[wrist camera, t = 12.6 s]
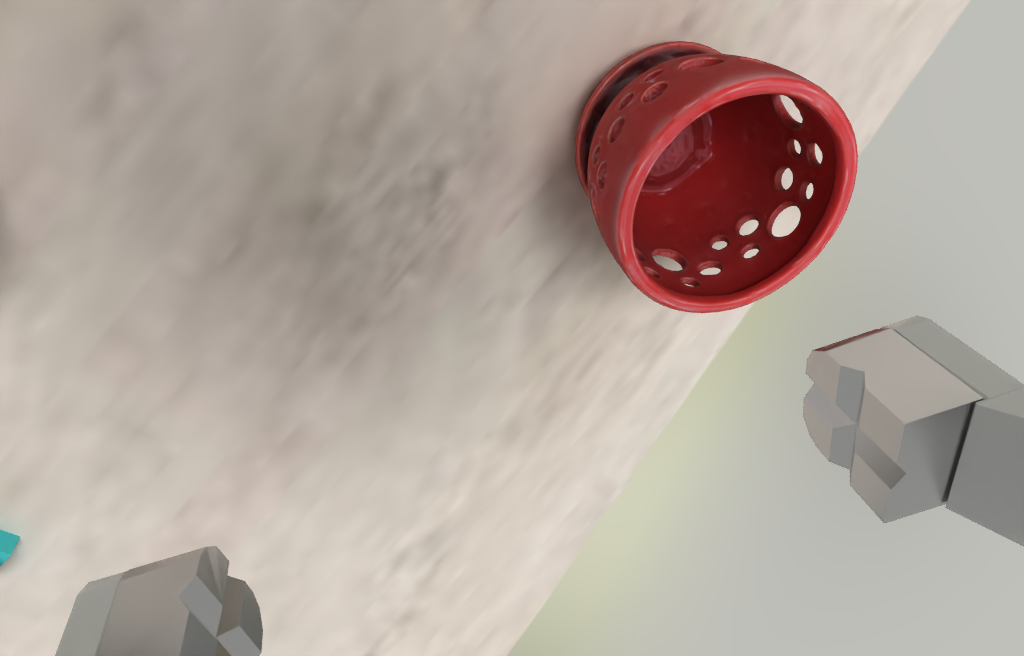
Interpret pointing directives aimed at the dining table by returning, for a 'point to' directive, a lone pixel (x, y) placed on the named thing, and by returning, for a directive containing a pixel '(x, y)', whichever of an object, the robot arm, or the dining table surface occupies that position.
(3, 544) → the chart
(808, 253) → the plant pot
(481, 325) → the dining table surface
